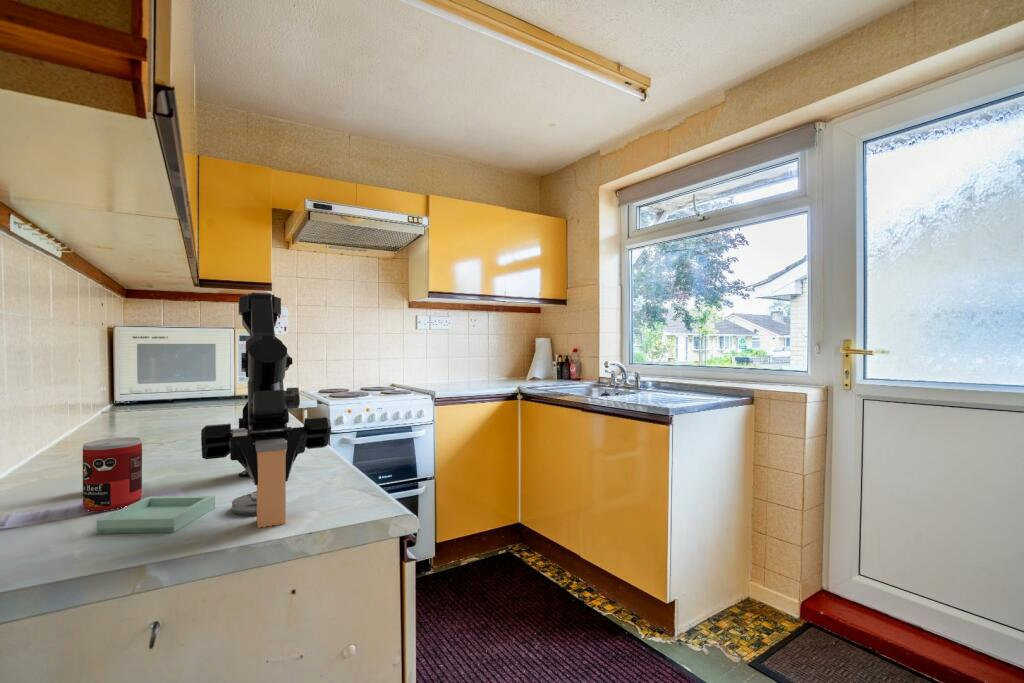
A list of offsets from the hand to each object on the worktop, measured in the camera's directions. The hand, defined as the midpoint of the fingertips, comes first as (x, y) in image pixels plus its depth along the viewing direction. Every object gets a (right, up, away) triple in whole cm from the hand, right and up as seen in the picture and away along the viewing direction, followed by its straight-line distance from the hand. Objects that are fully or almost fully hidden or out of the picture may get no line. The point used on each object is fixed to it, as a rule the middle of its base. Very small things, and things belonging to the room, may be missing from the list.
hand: (271, 481), depth 76 cm
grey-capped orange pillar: (-1, -7, +1) cm, 7 cm away
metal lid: (-6, -7, +8) cm, 12 cm away
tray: (-19, -7, +2) cm, 20 cm away
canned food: (-32, -7, +10) cm, 34 cm away
